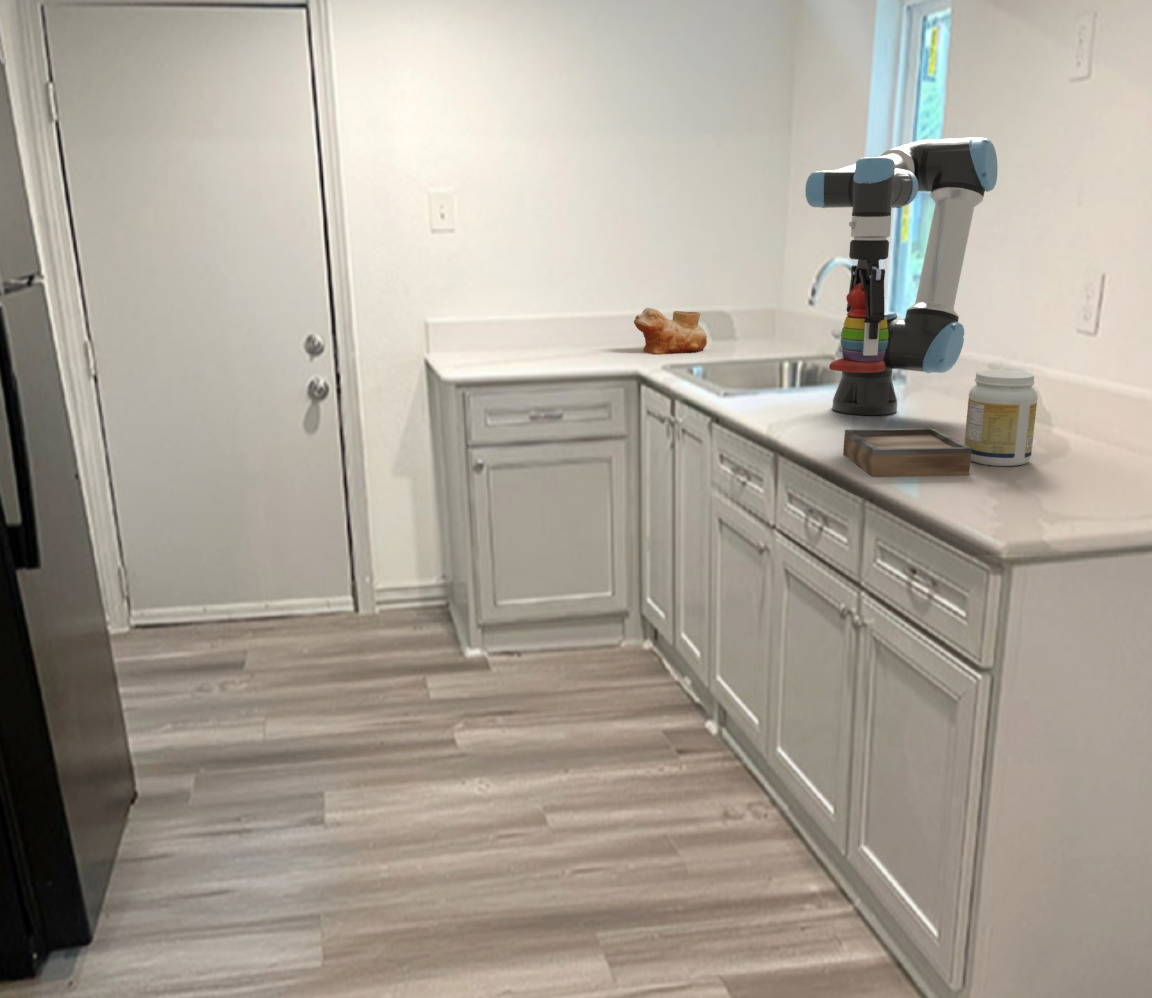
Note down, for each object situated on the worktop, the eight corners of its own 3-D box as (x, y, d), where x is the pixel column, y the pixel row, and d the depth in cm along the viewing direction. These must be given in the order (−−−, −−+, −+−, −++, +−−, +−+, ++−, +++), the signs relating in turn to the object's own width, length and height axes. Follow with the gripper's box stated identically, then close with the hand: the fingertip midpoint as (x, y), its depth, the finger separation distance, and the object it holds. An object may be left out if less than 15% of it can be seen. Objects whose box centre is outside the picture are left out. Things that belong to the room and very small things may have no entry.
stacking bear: (853, 363, 223) (858, 278, 218) (896, 368, 216) (903, 280, 211) (825, 369, 215) (830, 281, 211) (868, 375, 208) (875, 284, 204)
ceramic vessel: (627, 350, 360) (627, 306, 356) (697, 347, 368) (698, 304, 364) (641, 356, 348) (642, 310, 344) (713, 352, 355) (715, 307, 351)
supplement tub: (999, 451, 210) (1008, 367, 206) (1044, 464, 200) (1055, 375, 195) (949, 456, 206) (957, 370, 202) (992, 470, 195) (1002, 379, 191)
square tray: (843, 454, 208) (844, 429, 207) (931, 452, 209) (934, 428, 208) (872, 476, 191) (874, 449, 190) (969, 474, 192) (971, 448, 191)
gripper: (835, 237, 219) (829, 345, 225) (868, 241, 197) (861, 359, 204) (870, 236, 219) (863, 344, 225) (907, 240, 198) (899, 359, 204)
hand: (862, 351), depth 214 cm, fingers closed on stacking bear, 9 cm apart
